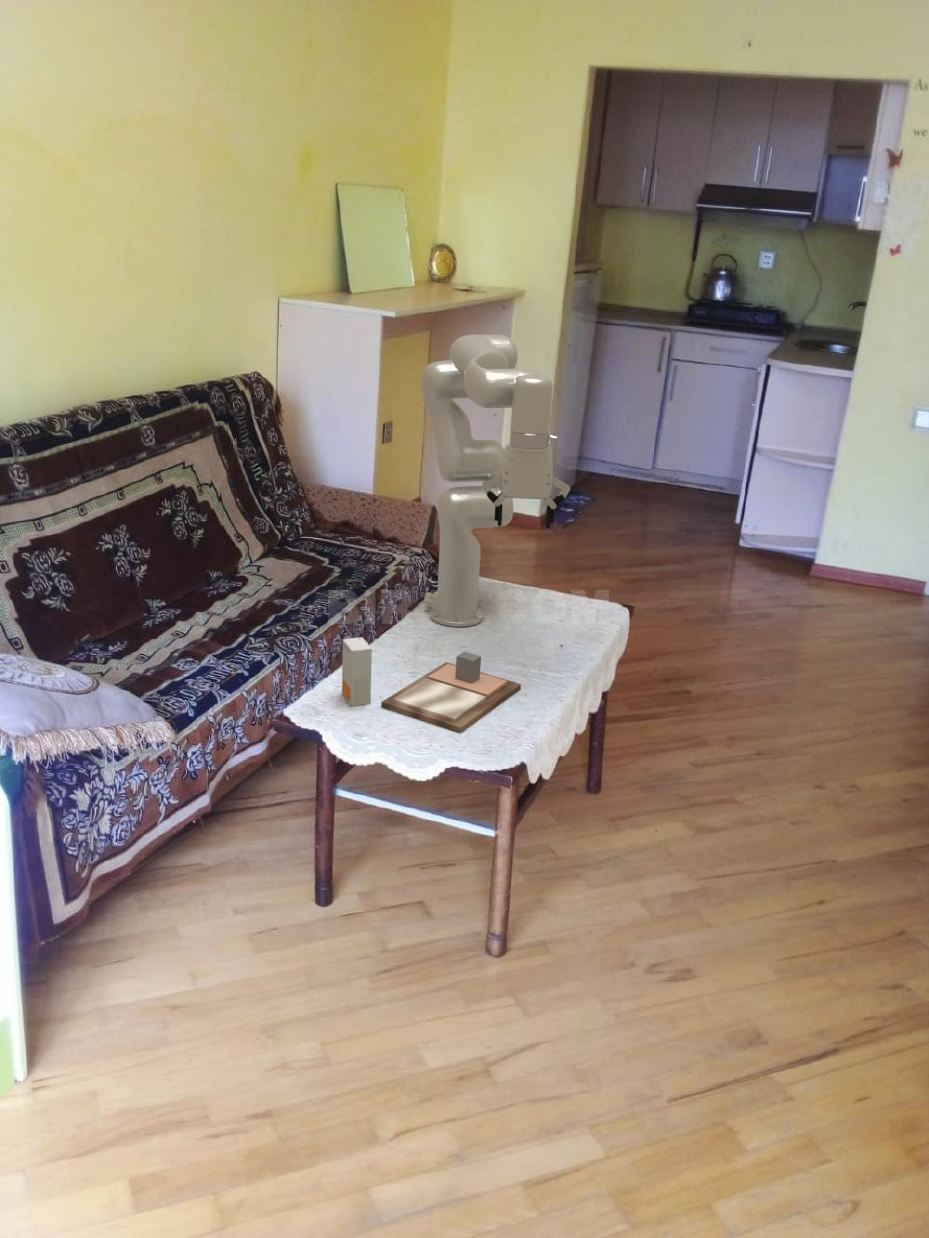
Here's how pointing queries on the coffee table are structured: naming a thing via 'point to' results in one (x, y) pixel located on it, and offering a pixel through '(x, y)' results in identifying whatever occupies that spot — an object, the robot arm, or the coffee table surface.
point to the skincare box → (356, 671)
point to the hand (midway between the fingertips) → (523, 525)
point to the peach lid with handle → (468, 676)
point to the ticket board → (446, 702)
